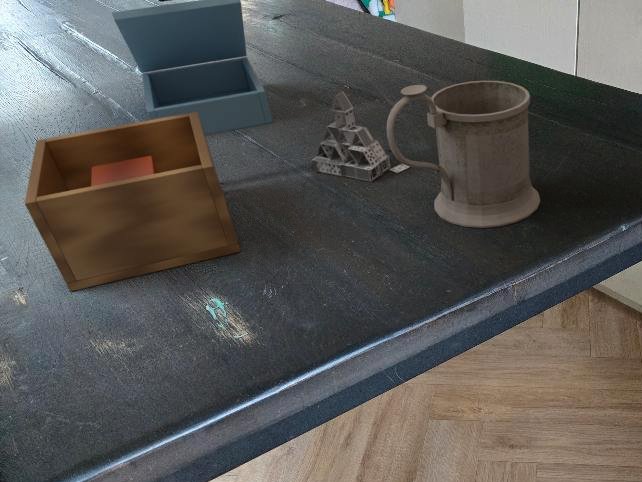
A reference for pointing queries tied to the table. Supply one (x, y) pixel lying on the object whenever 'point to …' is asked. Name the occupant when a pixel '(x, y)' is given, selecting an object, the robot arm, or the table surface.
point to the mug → (477, 151)
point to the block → (123, 170)
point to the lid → (183, 33)
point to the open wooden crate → (129, 202)
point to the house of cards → (351, 148)
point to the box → (209, 95)
